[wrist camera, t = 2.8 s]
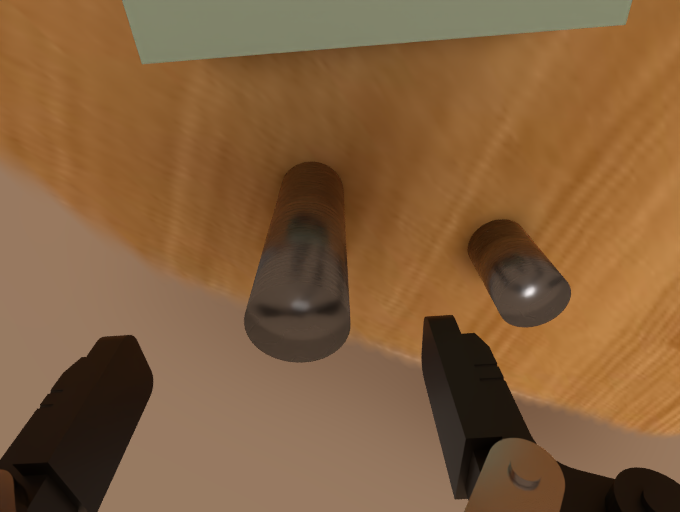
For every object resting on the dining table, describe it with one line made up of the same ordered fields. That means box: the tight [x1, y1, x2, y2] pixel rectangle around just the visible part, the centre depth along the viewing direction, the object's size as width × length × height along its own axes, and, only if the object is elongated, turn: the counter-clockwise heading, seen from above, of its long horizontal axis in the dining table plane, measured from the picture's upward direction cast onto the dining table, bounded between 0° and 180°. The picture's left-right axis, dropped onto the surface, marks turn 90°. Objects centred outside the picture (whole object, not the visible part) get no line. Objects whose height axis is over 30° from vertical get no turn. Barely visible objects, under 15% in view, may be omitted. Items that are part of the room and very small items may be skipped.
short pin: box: [468, 220, 571, 327], centre depth 20 cm, size 3×3×5 cm
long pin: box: [244, 162, 350, 362], centre depth 16 cm, size 3×3×10 cm
